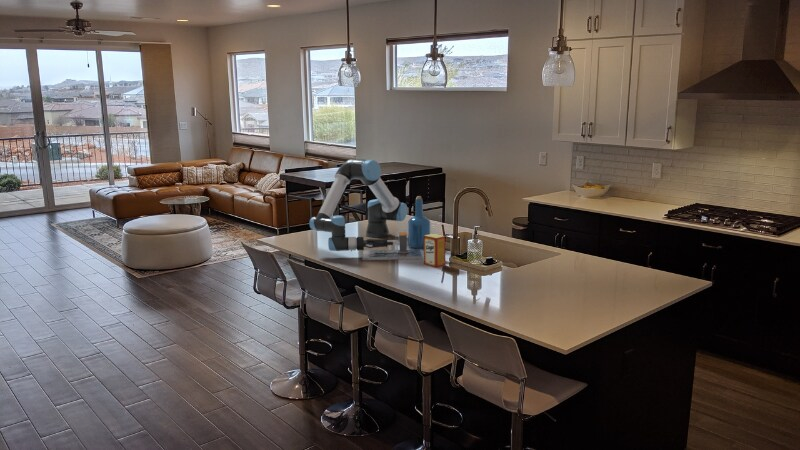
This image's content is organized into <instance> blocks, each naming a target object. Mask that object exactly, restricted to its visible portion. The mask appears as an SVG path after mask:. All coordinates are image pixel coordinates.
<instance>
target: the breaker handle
mask: <svg viewBox="0 0 800 450" xmlns="http://www.w3.org/2000/svg"><path fill="white" fill-rule="evenodd" d="M398 240H399V245H398V246H399V249H397V250H398V253H409V251H408V245H407V244H408V231H399V232H398Z"/></svg>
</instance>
